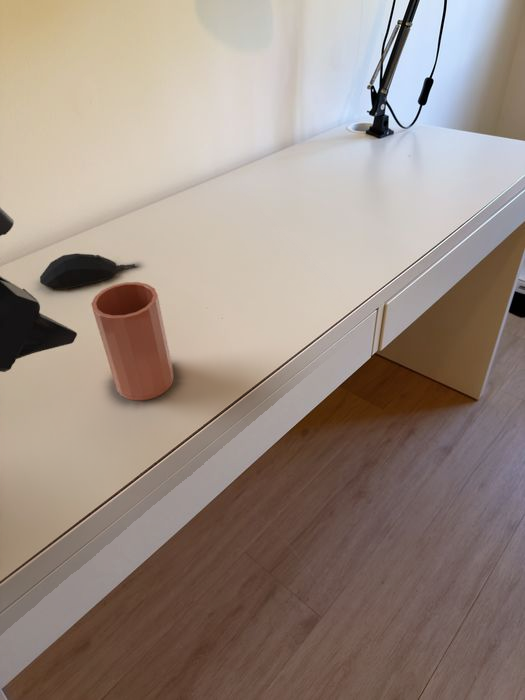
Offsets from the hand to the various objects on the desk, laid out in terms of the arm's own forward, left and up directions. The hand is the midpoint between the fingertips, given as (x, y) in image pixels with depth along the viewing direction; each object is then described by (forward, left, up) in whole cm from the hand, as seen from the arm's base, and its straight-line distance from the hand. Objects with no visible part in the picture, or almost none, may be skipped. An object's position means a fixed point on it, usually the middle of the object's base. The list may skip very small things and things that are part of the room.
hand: (52, 318), depth 52 cm
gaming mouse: (+4, +32, -14) cm, 35 cm away
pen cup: (+7, +3, -14) cm, 16 cm away
